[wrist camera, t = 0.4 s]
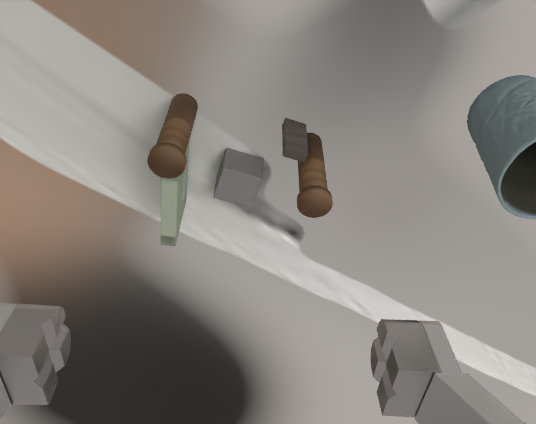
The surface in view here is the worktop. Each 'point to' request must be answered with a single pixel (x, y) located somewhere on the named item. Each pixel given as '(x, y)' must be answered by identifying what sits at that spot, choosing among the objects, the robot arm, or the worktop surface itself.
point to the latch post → (307, 168)
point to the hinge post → (174, 138)
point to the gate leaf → (173, 205)
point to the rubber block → (239, 177)
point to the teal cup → (508, 140)
